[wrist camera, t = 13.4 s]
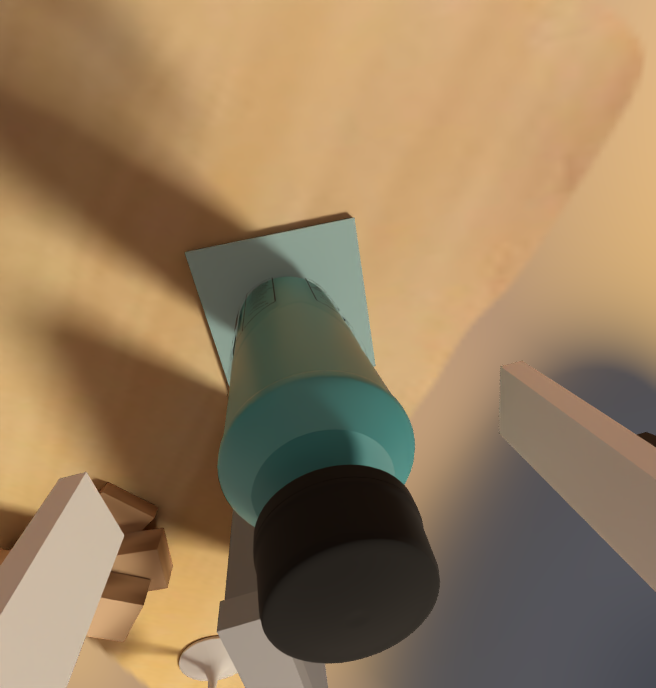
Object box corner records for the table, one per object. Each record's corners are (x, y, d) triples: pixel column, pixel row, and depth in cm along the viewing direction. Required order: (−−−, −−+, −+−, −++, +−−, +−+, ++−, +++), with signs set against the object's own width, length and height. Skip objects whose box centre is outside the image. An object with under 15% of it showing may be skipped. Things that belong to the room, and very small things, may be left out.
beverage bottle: (224, 283, 24) (106, 570, 6) (321, 255, 24) (498, 443, 6) (256, 368, 27) (244, 749, 8) (343, 342, 27) (512, 652, 9)
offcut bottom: (112, 473, 30) (102, 492, 28) (160, 499, 31) (154, 517, 29) (16, 577, 32) (1, 600, 30) (66, 596, 34) (54, 619, 32)
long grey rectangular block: (238, 418, 29) (217, 631, 15) (269, 411, 29) (275, 614, 15) (289, 569, 36) (306, 807, 22) (313, 562, 36) (345, 794, 22)
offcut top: (151, 579, 29) (143, 605, 27) (132, 615, 30) (123, 642, 28) (-7, 547, 26) (-28, 573, 24) (-23, 588, 27) (-44, 616, 25)
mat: (186, 251, 23) (184, 252, 23) (352, 217, 24) (354, 217, 24) (234, 396, 28) (233, 400, 27) (373, 363, 29) (375, 366, 28)
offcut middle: (163, 527, 30) (157, 549, 28) (172, 565, 32) (167, 588, 30) (-15, 553, 28) (-34, 577, 26) (4, 591, 30) (-12, 617, 28)
